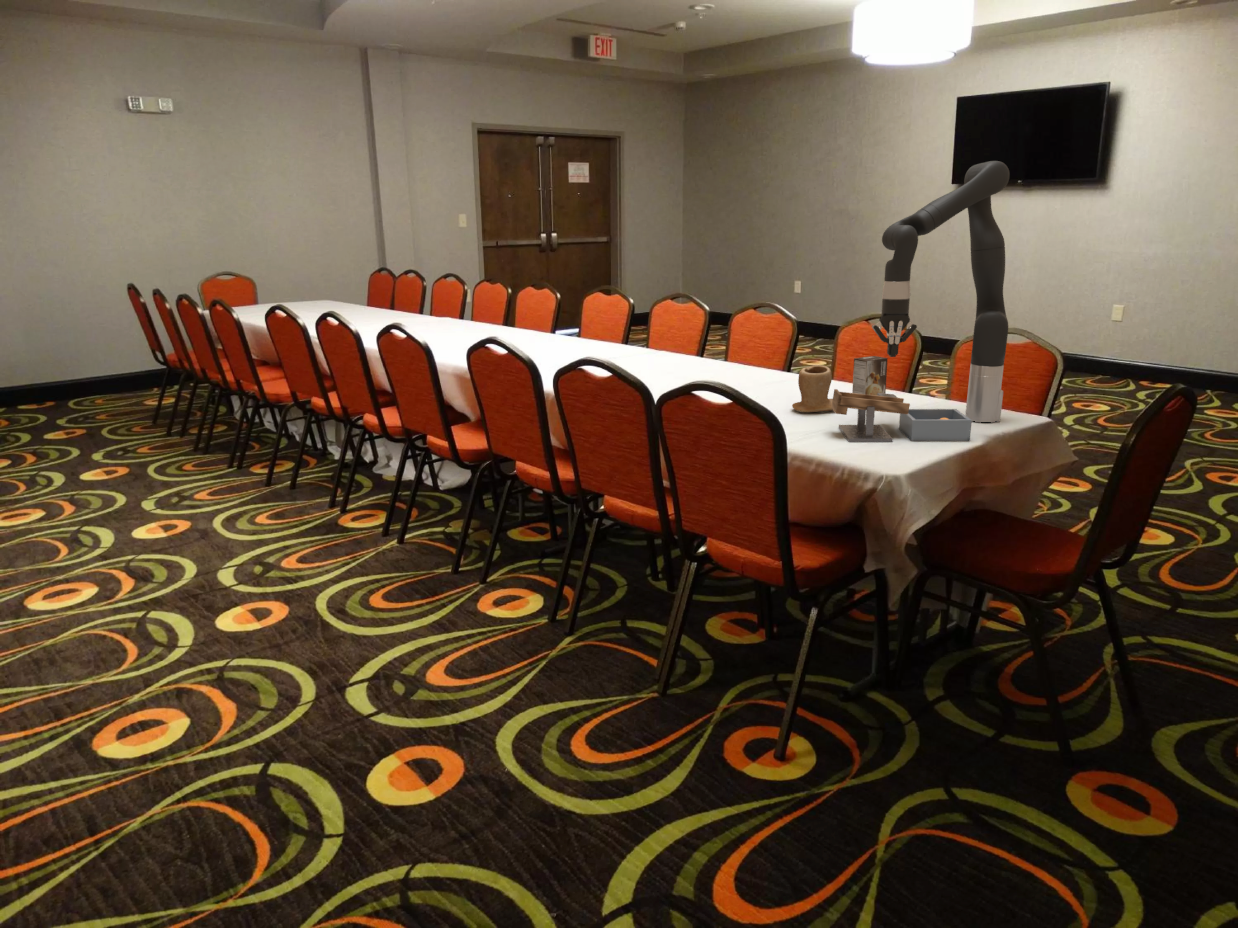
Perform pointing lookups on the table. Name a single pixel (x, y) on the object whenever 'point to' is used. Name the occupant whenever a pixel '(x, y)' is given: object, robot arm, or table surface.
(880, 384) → the coffee box
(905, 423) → the bin
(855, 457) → the table surface
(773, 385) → the table surface
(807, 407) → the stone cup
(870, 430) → the stand
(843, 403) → the chute
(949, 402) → the table surface
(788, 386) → the table surface
